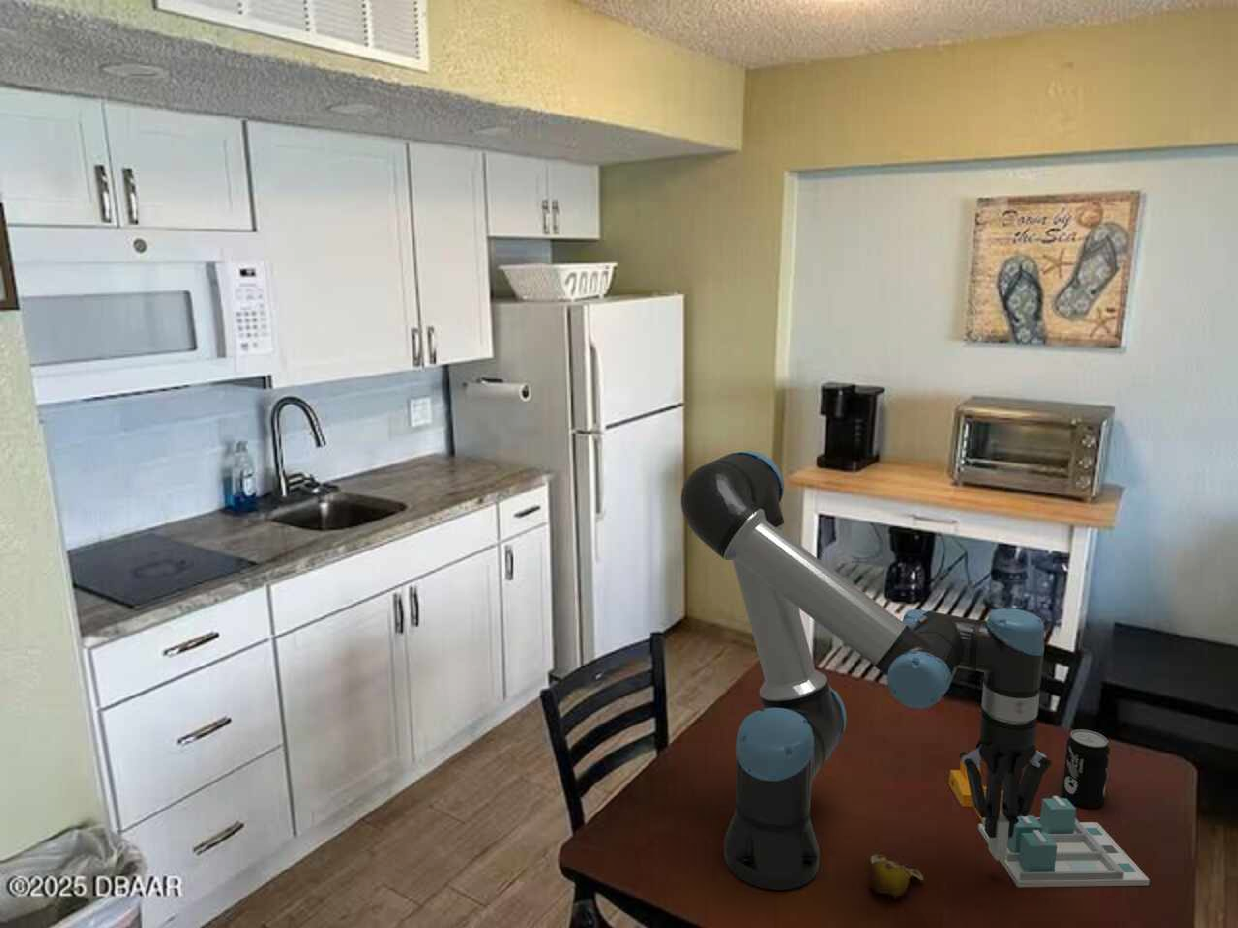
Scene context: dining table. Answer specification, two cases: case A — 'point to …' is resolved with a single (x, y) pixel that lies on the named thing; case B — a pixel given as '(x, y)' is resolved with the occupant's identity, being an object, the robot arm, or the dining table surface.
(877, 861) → the fruit
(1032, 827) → the tab mid
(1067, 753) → the beverage can
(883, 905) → the dining table surface
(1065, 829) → the tab far
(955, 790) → the pipe clamp
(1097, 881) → the switch board
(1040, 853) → the tab near
